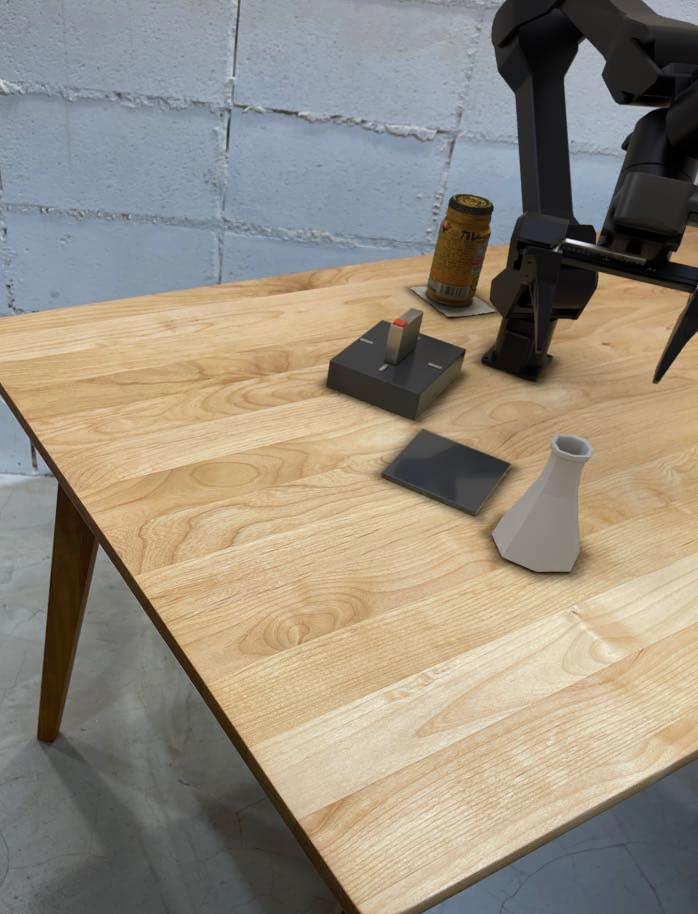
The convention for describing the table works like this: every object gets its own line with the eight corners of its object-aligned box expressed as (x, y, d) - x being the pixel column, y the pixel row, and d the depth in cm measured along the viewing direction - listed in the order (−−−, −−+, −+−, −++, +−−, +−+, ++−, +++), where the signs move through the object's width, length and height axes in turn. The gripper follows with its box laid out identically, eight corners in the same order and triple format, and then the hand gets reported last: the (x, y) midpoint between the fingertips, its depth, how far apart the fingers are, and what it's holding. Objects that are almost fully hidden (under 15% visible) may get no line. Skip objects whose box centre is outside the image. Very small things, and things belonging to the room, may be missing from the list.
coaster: (421, 433, 80) (422, 428, 80) (510, 467, 77) (511, 463, 77) (380, 476, 74) (381, 472, 74) (474, 516, 71) (476, 511, 71)
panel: (377, 344, 93) (382, 318, 91) (460, 374, 90) (467, 347, 88) (325, 386, 85) (329, 358, 83) (414, 421, 82) (420, 392, 80)
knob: (404, 343, 88) (412, 305, 85) (416, 347, 87) (424, 309, 84) (383, 360, 84) (390, 321, 81) (395, 365, 84) (403, 326, 81)
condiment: (456, 283, 109) (479, 188, 101) (495, 312, 103) (522, 214, 95) (409, 289, 106) (429, 192, 98) (446, 319, 100) (470, 218, 93)
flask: (581, 583, 66) (626, 481, 59) (489, 564, 67) (525, 461, 60) (576, 527, 71) (617, 428, 65) (491, 510, 72) (523, 411, 66)
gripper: (550, 98, 61) (485, 296, 60) (822, 150, 57) (757, 363, 56) (534, 181, 72) (479, 350, 71) (762, 230, 68) (706, 410, 67)
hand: (596, 367), depth 66 cm, fingers open, 9 cm apart
